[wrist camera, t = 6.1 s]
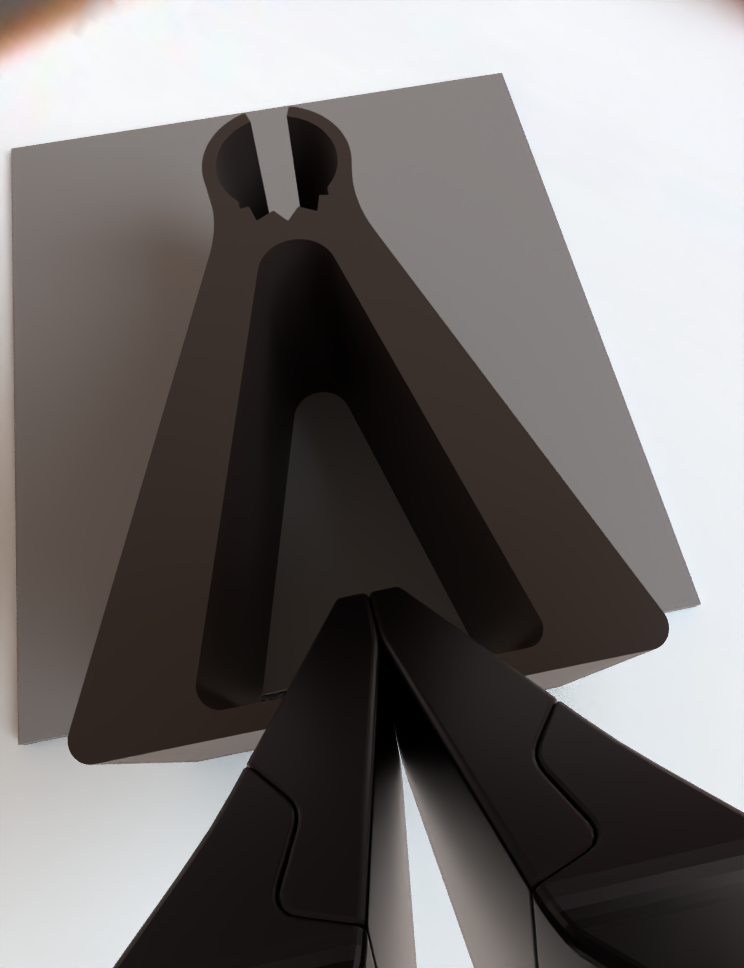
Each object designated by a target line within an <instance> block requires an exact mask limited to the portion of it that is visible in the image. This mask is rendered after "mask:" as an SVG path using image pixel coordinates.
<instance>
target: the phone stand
mask: <svg viewBox="0 0 744 968" xmlns="http://www.w3.org/2000/svg"><path fill="white" fill-rule="evenodd" d="M287 122H288V129H289V136H290V143H291V150H292V156H293V163H294V170H295V177H296V184H297V190H298V197H299V204H300V207H297V209H296V210H295V212H294V213H293V215H292V216H291V217H290V219H289V220H286V219H285V218H283V217H282V216H280V215H279V214H278V213H276V212H275V211H272V212H270V213H269V209H268V204H267V199H266V194H265V190H264V185H263V180H262V175H261V170H260V165H259V160H258V155H257V150H256V146H255V141H254V136H253V131H252V126H251V122H250V120H249V118H248V117H247V115H246V114H245V113H243V114H241V115H239V116H237V117H235V118H233V119H232V120H230V121H229V122H227V123H226V124H225V125H223V126H222V127H221V128H220V129H219V130H218V131H217V132H216V133H215V134H214V136H213V137H212V138H211V140H210V141H209V143H208V145H207V147H206V149H205V152H204V155H203V159H202V175H203V179H204V183H205V186H206V189H207V193H208V196H209V199H210V202H211V206H212V209H213V216H214V233H213V241H212V247H211V251H210V255H209V258H208V262H207V265H206V268H205V272H204V275H203V279H202V282H201V285H200V289H199V292H198V296H197V299H196V302H195V306H194V309H193V313H192V316H191V319H190V323H189V326H188V330H187V333H186V336H185V340H184V343H183V347H182V350H181V353H180V357H179V360H178V363H177V367H176V370H175V374H174V377H173V380H172V384H171V387H170V391H169V394H168V397H167V401H166V404H165V408H164V411H163V414H162V418H161V421H160V425H159V428H158V431H157V435H156V438H155V442H154V445H153V448H152V452H151V455H150V459H149V462H148V465H147V469H146V472H145V476H144V479H143V482H142V486H141V489H140V492H139V496H138V499H137V503H136V506H135V509H134V513H133V516H132V520H131V523H130V526H129V530H128V533H127V537H126V540H125V543H124V547H123V550H122V554H121V557H120V560H119V564H118V567H117V571H116V574H115V577H114V581H113V584H112V588H111V591H110V594H109V598H108V601H107V605H106V608H105V611H104V615H103V618H102V621H101V625H100V628H99V632H98V635H97V638H96V642H95V645H94V649H93V652H92V655H91V659H90V662H89V666H88V669H87V672H86V676H85V679H84V683H83V686H82V689H81V693H80V696H79V700H78V703H77V706H76V710H75V713H74V717H73V720H72V723H71V727H70V730H69V734H68V747H69V750H70V752H71V754H72V756H73V757H74V758H75V759H76V760H77V761H79V762H81V763H83V764H89V765H93V764H132V763H171V762H198V761H203V760H208V759H213V758H218V757H222V756H227V755H232V754H237V753H242V752H247V751H251V750H255V748H256V746H257V744H258V743H259V741H260V739H261V737H262V735H263V733H264V732H265V730H266V728H267V726H268V724H269V722H270V721H271V719H272V717H273V715H274V713H275V711H276V710H277V708H278V706H279V704H280V702H281V700H282V699H283V698H279V699H274V700H269V701H264V702H261V701H262V693H263V684H264V675H265V667H266V658H267V650H268V641H269V632H270V624H271V615H272V606H273V598H274V589H275V580H276V572H277V563H278V555H279V546H280V537H281V529H282V520H283V511H284V503H285V494H286V486H287V477H288V468H289V460H290V451H291V442H292V434H293V425H294V416H295V411H296V409H297V407H298V405H299V404H300V402H301V401H302V400H303V399H305V398H306V397H308V396H309V395H312V394H314V393H319V392H328V393H332V394H335V395H337V396H339V397H340V398H342V399H343V400H344V401H345V402H346V404H347V405H348V407H349V409H350V411H351V413H352V415H353V416H354V418H355V420H356V422H357V424H358V426H359V428H360V430H361V432H362V434H363V435H364V437H365V439H366V441H367V443H368V445H369V447H370V449H371V451H372V452H373V454H374V456H375V458H376V460H377V462H378V464H379V466H380V468H381V470H382V471H383V473H384V475H385V477H386V479H387V481H388V483H389V485H390V487H391V488H392V490H393V492H394V494H395V496H396V498H397V500H398V502H399V504H400V506H401V507H402V509H403V511H404V513H405V515H406V517H407V519H408V521H409V523H410V524H411V526H412V528H413V530H414V532H415V534H416V536H417V538H418V540H419V542H420V543H421V545H422V547H423V549H424V551H425V553H426V555H427V557H428V559H429V560H430V562H431V564H432V566H433V568H434V570H435V572H436V574H437V576H438V578H439V579H440V581H441V583H442V585H443V587H444V589H445V591H446V593H447V595H448V597H449V598H450V600H451V602H452V604H453V606H454V608H455V610H456V612H457V614H458V615H459V617H460V619H461V621H462V623H463V625H464V627H465V629H466V631H467V633H468V634H469V636H470V637H471V638H472V639H473V640H475V641H476V642H478V643H479V644H480V645H482V646H483V647H485V648H486V649H487V650H489V651H490V652H492V653H493V654H495V655H496V656H497V657H499V658H500V659H502V660H503V661H504V662H506V663H507V664H509V665H510V666H511V667H513V668H514V669H516V670H517V671H518V672H520V673H521V674H523V675H524V676H525V677H527V678H528V679H530V680H531V681H532V682H534V683H535V684H537V685H538V686H539V687H541V688H542V689H544V690H546V689H551V688H556V687H560V686H562V685H565V684H567V683H570V682H572V681H575V680H578V679H580V678H583V677H585V676H588V675H590V674H593V673H595V672H598V671H600V670H603V669H605V668H608V667H611V666H613V665H616V664H618V663H621V662H623V661H626V660H628V659H631V658H633V657H636V656H638V655H641V654H644V653H646V652H649V651H651V650H654V649H656V648H658V647H660V646H661V645H662V644H663V643H664V642H665V641H666V639H667V637H668V633H669V624H668V620H667V618H666V616H665V614H664V612H663V611H662V610H661V608H660V607H659V606H658V604H657V603H656V602H655V600H654V599H653V598H652V596H651V595H650V594H649V592H648V591H647V590H646V588H645V587H644V586H643V584H642V583H641V582H640V581H639V579H638V578H637V577H636V575H635V574H634V573H633V571H632V570H631V569H630V567H629V566H628V565H627V563H626V562H625V561H624V559H623V558H622V557H621V555H620V554H619V553H618V551H617V550H616V549H615V547H614V546H613V545H612V543H611V542H610V541H609V539H608V538H607V537H606V535H605V534H604V533H603V532H602V530H601V529H600V528H599V526H598V525H597V524H596V522H595V521H594V520H593V518H592V517H591V516H590V514H589V513H588V512H587V510H586V509H585V508H584V506H583V505H582V504H581V502H580V501H579V500H578V498H577V497H576V496H575V494H574V493H573V492H572V490H571V489H570V488H569V486H568V485H567V484H566V483H565V481H564V480H563V479H562V477H561V476H560V475H559V473H558V472H557V471H556V469H555V468H554V467H553V465H552V464H551V463H550V461H549V460H548V459H547V457H546V456H545V455H544V453H543V452H542V451H541V449H540V448H539V447H538V445H537V444H536V443H535V441H534V440H533V439H532V438H531V436H530V435H529V434H528V432H527V431H526V430H525V428H524V427H523V426H522V424H521V423H520V422H519V420H518V419H517V418H516V416H515V415H514V414H513V412H512V411H511V410H510V408H509V407H508V406H507V404H506V403H505V402H504V400H503V399H502V398H501V396H500V395H499V394H498V392H497V391H496V390H495V389H494V387H493V386H492V385H491V383H490V382H489V381H488V379H487V378H486V377H485V375H484V374H483V373H482V371H481V370H480V369H479V367H478V366H477V365H476V363H475V362H474V361H473V359H472V358H471V357H470V355H469V354H468V353H467V351H466V350H465V349H464V347H463V346H462V345H461V344H460V342H459V341H458V340H457V338H456V337H455V336H454V334H453V333H452V332H451V330H450V329H449V328H448V326H447V325H446V324H445V322H444V321H443V320H442V318H441V317H440V316H439V314H438V313H437V312H436V310H435V309H434V308H433V306H432V305H431V304H430V302H429V301H428V300H427V298H426V297H425V296H424V295H423V293H422V292H421V291H420V289H419V288H418V287H417V285H416V284H415V283H414V281H413V280H412V279H411V277H410V276H409V275H408V273H407V272H406V271H405V269H404V268H403V267H402V265H401V264H400V263H399V261H398V260H397V259H396V257H395V256H394V255H393V253H392V252H391V251H390V250H389V248H388V247H387V246H386V244H385V243H384V242H383V240H382V239H381V238H380V236H379V235H378V234H377V232H376V231H375V230H374V228H373V227H372V225H371V224H370V223H369V221H368V219H367V218H366V216H365V214H364V212H363V211H362V209H361V206H360V204H359V202H358V199H357V196H356V193H355V189H354V185H353V176H352V157H351V151H350V147H349V144H348V142H347V140H346V138H345V136H344V135H343V133H342V132H341V131H340V130H339V128H338V127H337V126H336V125H335V124H333V123H332V122H331V121H330V120H328V119H327V118H325V117H323V116H322V115H320V114H318V113H315V112H313V111H310V110H307V109H303V108H299V107H292V106H289V108H288V112H287Z"/></svg>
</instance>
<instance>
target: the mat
mask: <svg viewBox="0 0 744 968" xmlns="http://www.w3.org/2000/svg"><path fill="white" fill-rule="evenodd" d="M291 106H292V107H299V108H303V109H307V110H310V111H313V112H315V113H318V114H320V115H322V116H323V117H325V118H327V119H328V120H330V121H331V122H332V123H333V124H335V125H336V126H337V127H338V128H339V130H340V131H341V132H342V133H343V135H344V136H345V138H346V140H347V142H348V144H349V147H350V151H351V157H352V176H353V185H354V189H355V193H356V196H357V199H358V202H359V204H360V206H361V209H362V211H363V212H364V214H365V216H366V218H367V219H368V221H369V223H370V224H371V225H372V227H373V228H374V230H375V231H376V232H377V234H378V235H379V236H380V238H381V239H382V240H383V242H384V243H385V244H386V246H387V247H388V248H389V250H390V251H391V252H392V253H393V255H394V256H395V257H396V259H397V260H398V261H399V263H400V264H401V265H402V267H403V268H404V269H405V271H406V272H407V273H408V275H409V276H410V277H411V279H412V280H413V281H414V283H415V284H416V285H417V287H418V288H419V289H420V291H421V292H422V293H423V295H424V296H425V297H426V298H427V300H428V301H429V302H430V304H431V305H432V306H433V308H434V309H435V310H436V312H437V313H438V314H439V316H440V317H441V318H442V320H443V321H444V322H445V324H446V325H447V326H448V328H449V329H450V330H451V332H452V333H453V334H454V336H455V337H456V338H457V340H458V341H459V342H460V344H461V345H462V346H463V347H464V349H465V350H466V351H467V353H468V354H469V355H470V357H471V358H472V359H473V361H474V362H475V363H476V365H477V366H478V367H479V369H480V370H481V371H482V373H483V374H484V375H485V377H486V378H487V379H488V381H489V382H490V383H491V385H492V386H493V387H494V389H495V390H496V391H497V392H498V394H499V395H500V396H501V398H502V399H503V400H504V402H505V403H506V404H507V406H508V407H509V408H510V410H511V411H512V412H513V414H514V415H515V416H516V418H517V419H518V420H519V422H520V423H521V424H522V426H523V427H524V428H525V430H526V431H527V432H528V434H529V435H530V436H531V438H532V439H533V440H534V441H535V443H536V444H537V445H538V447H539V448H540V449H541V451H542V452H543V453H544V455H545V456H546V457H547V459H548V460H549V461H550V463H551V464H552V465H553V467H554V468H555V469H556V471H557V472H558V473H559V475H560V476H561V477H562V479H563V480H564V481H565V483H566V484H567V485H568V486H569V488H570V489H571V490H572V492H573V493H574V494H575V496H576V497H577V498H578V500H579V501H580V502H581V504H582V505H583V506H584V508H585V509H586V510H587V512H588V513H589V514H590V516H591V517H592V518H593V520H594V521H595V522H596V524H597V525H598V526H599V528H600V529H601V530H602V532H603V533H604V534H605V535H606V537H607V538H608V539H609V541H610V542H611V543H612V545H613V546H614V547H615V549H616V550H617V551H618V553H619V554H620V555H621V557H622V558H623V559H624V561H625V562H626V563H627V565H628V566H629V567H630V569H631V570H632V571H633V573H634V574H635V575H636V577H637V578H638V579H639V581H640V582H641V583H642V584H643V586H644V587H645V588H646V590H647V591H648V592H649V594H650V595H651V596H652V598H653V599H654V600H655V602H656V603H657V604H658V606H659V607H660V608H661V610H662V611H663V612H664V613H666V612H671V611H676V610H681V609H686V608H691V607H695V606H698V605H700V604H701V603H700V600H699V598H698V595H697V592H696V590H695V587H694V584H693V582H692V579H691V576H690V574H689V571H688V568H687V566H686V563H685V560H684V558H683V555H682V552H681V550H680V547H679V544H678V542H677V539H676V536H675V533H674V531H673V528H672V525H671V523H670V520H669V517H668V515H667V512H666V509H665V507H664V504H663V501H662V499H661V496H660V493H659V491H658V488H657V485H656V483H655V480H654V477H653V475H652V472H651V469H650V467H649V464H648V461H647V459H646V456H645V453H644V451H643V448H642V445H641V443H640V440H639V437H638V435H637V432H636V429H635V427H634V424H633V421H632V419H631V416H630V413H629V411H628V408H627V405H626V403H625V400H624V397H623V395H622V392H621V389H620V387H619V384H618V381H617V379H616V376H615V373H614V371H613V368H612V365H611V363H610V360H609V357H608V355H607V352H606V349H605V347H604V344H603V341H602V339H601V336H600V333H599V331H598V328H597V325H596V323H595V320H594V317H593V315H592V312H591V309H590V307H589V304H588V301H587V299H586V296H585V293H584V291H583V288H582V285H581V283H580V280H579V277H578V275H577V272H576V269H575V267H574V264H573V261H572V259H571V256H570V253H569V251H568V248H567V245H566V243H565V240H564V237H563V235H562V232H561V229H560V227H559V224H558V221H557V219H556V216H555V213H554V211H553V208H552V205H551V203H550V200H549V197H548V195H547V192H546V189H545V187H544V184H543V181H542V179H541V176H540V173H539V171H538V168H537V165H536V163H535V160H534V157H533V155H532V152H531V149H530V147H529V144H528V141H527V139H526V136H525V133H524V131H523V128H522V125H521V123H520V120H519V117H518V115H517V112H516V109H515V107H514V104H513V101H512V99H511V96H510V93H509V91H508V88H507V85H506V83H505V80H504V77H503V75H502V73H498V74H492V75H485V76H479V77H472V78H466V79H459V80H453V81H446V82H440V83H434V84H427V85H421V86H414V87H408V88H401V89H395V90H388V91H382V92H375V93H369V94H362V95H356V96H349V97H343V98H336V99H330V100H324V101H317V102H311V103H304V104H298V105H291ZM288 108H289V106H285V107H278V108H272V109H265V110H259V111H252V112H246V113H245V114H246V115H247V117H248V118H249V120H250V122H251V126H252V131H253V136H254V141H255V146H256V150H257V155H258V160H259V165H260V170H261V175H262V180H263V185H264V190H265V194H266V199H267V204H268V209H269V213H270V212H272V211H275V212H276V213H278V214H279V215H280V216H282V217H283V218H285V219H286V220H289V219H290V217H291V216H292V215H293V213H294V212H295V210H296V209H297V207H300V204H299V197H298V190H297V184H296V177H295V170H294V163H293V156H292V150H291V143H290V136H289V129H288V122H287V112H288ZM241 114H243V113H239V114H233V115H227V116H220V117H214V118H207V119H201V120H194V121H188V122H181V123H175V124H168V125H162V126H155V127H149V128H142V129H136V130H130V131H123V132H117V133H110V134H104V135H97V136H91V137H84V138H78V139H71V140H65V141H58V142H52V143H45V144H39V145H32V146H26V147H20V148H13V149H11V150H12V237H13V324H14V411H15V498H16V585H17V672H18V745H26V744H31V743H36V742H41V741H45V740H50V739H55V738H60V737H65V736H68V734H69V730H70V727H71V723H72V720H73V717H74V713H75V710H76V706H77V703H78V700H79V696H80V693H81V689H82V686H83V683H84V679H85V676H86V672H87V669H88V666H89V662H90V659H91V655H92V652H93V649H94V645H95V642H96V638H97V635H98V632H99V628H100V625H101V621H102V618H103V615H104V611H105V608H106V605H107V601H108V598H109V594H110V591H111V588H112V584H113V581H114V577H115V574H116V571H117V567H118V564H119V560H120V557H121V554H122V550H123V547H124V543H125V540H126V537H127V533H128V530H129V526H130V523H131V520H132V516H133V513H134V509H135V506H136V503H137V499H138V496H139V492H140V489H141V486H142V482H143V479H144V476H145V472H146V469H147V465H148V462H149V459H150V455H151V452H152V448H153V445H154V442H155V438H156V435H157V431H158V428H159V425H160V421H161V418H162V414H163V411H164V408H165V404H166V401H167V397H168V394H169V391H170V387H171V384H172V380H173V377H174V374H175V370H176V367H177V363H178V360H179V357H180V353H181V350H182V347H183V343H184V340H185V336H186V333H187V330H188V326H189V323H190V319H191V316H192V313H193V309H194V306H195V302H196V299H197V296H198V292H199V289H200V285H201V282H202V279H203V275H204V272H205V268H206V265H207V262H208V258H209V255H210V251H211V247H212V241H213V233H214V216H213V209H212V206H211V202H210V199H209V196H208V193H207V189H206V186H205V183H204V179H203V175H202V159H203V155H204V152H205V149H206V147H207V145H208V143H209V141H210V140H211V138H212V137H213V136H214V134H215V133H216V132H217V131H218V130H219V129H220V128H221V127H222V126H223V125H225V124H226V123H227V122H229V121H230V120H232V119H233V118H235V117H237V116H239V115H241ZM392 587H400V588H402V589H403V590H405V591H406V592H408V593H409V594H410V595H412V596H413V597H415V598H416V599H417V600H419V601H420V602H422V603H423V604H424V605H426V606H427V607H429V608H430V609H431V610H433V611H434V612H436V613H437V614H438V615H440V616H441V617H443V618H444V619H445V620H447V621H448V622H450V623H451V624H452V625H454V626H455V627H457V628H458V629H459V630H461V631H462V632H464V633H465V634H466V635H468V636H469V634H468V633H467V631H466V629H465V627H464V625H463V623H462V621H461V619H460V617H459V615H458V614H457V612H456V610H455V608H454V606H453V604H452V602H451V600H450V598H449V597H448V595H447V593H446V591H445V589H444V587H443V585H442V583H441V581H440V579H439V578H438V576H437V574H436V572H435V570H434V568H433V566H432V564H431V562H430V560H429V559H428V557H427V555H426V553H425V551H424V549H423V547H422V545H421V543H420V542H419V540H418V538H417V536H416V534H415V532H414V530H413V528H412V526H411V524H410V523H409V521H408V519H407V517H406V515H405V513H404V511H403V509H402V507H401V506H400V504H399V502H398V500H397V498H396V496H395V494H394V492H393V490H392V488H391V487H390V485H389V483H388V481H387V479H386V477H385V475H384V473H383V471H382V470H381V468H380V466H379V464H378V462H377V460H376V458H375V456H374V454H373V452H372V451H371V449H370V447H369V445H368V443H367V441H366V439H365V437H364V435H363V434H362V432H361V430H360V428H359V426H358V424H357V422H356V420H355V418H354V416H353V415H352V413H351V411H350V409H349V407H348V405H347V404H346V402H345V401H344V400H343V399H342V398H340V397H339V396H337V395H335V394H332V393H328V392H319V393H314V394H312V395H309V396H308V397H306V398H305V399H303V400H302V401H301V402H300V404H299V405H298V407H297V409H296V411H295V416H294V425H293V434H292V442H291V451H290V460H289V468H288V477H287V486H286V494H285V503H284V511H283V520H282V529H281V537H280V546H279V555H278V563H277V572H276V580H275V589H274V598H273V606H272V615H271V624H270V632H269V641H268V650H267V658H266V667H265V675H264V684H263V693H262V696H264V695H269V694H273V693H278V692H283V691H287V689H288V688H289V686H290V684H291V682H292V680H293V678H294V677H295V675H296V673H297V671H298V669H299V667H300V666H301V664H302V662H303V660H304V658H305V656H306V655H307V653H308V651H309V649H310V647H311V645H312V644H313V642H314V640H315V638H316V636H317V634H318V633H319V631H320V629H321V627H322V625H323V623H324V622H325V620H326V618H327V616H328V614H329V612H330V611H331V609H332V607H333V605H334V603H335V601H336V600H337V599H338V598H341V597H346V596H351V595H356V594H362V593H364V594H367V596H368V597H369V595H370V593H371V592H373V591H377V590H382V589H387V588H392ZM469 637H470V636H469Z"/></svg>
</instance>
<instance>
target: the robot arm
mask: <svg viewBox="0 0 744 968" xmlns="http://www.w3.org/2000/svg"><path fill="white" fill-rule="evenodd" d="M396 738H397V739H396ZM397 742H398V745H397ZM398 747H399V750H398ZM399 751H400V755H401V759H402V762H403V766H404V769H405V772H406V775H407V778H408V781H409V784H410V787H411V790H412V792H413V795H414V798H415V801H416V804H417V807H418V809H419V812H420V815H421V818H422V821H423V824H424V827H425V829H426V832H427V835H428V838H429V841H430V844H431V846H432V849H433V852H434V855H435V858H436V861H437V864H438V866H439V869H440V872H441V875H442V878H443V881H444V883H445V886H446V889H447V892H448V895H449V898H450V901H451V903H452V906H453V909H454V912H455V915H456V918H457V920H458V923H459V926H460V929H461V932H462V935H463V938H464V940H465V943H466V946H467V949H468V952H469V955H470V958H471V960H472V963H473V966H474V968H744V812H742V811H740V810H738V809H736V808H735V807H733V806H731V805H729V804H728V803H726V802H724V801H722V800H720V799H719V798H717V797H715V796H713V795H711V794H710V793H708V792H706V791H704V790H703V789H701V788H699V787H697V786H695V785H694V784H692V783H690V782H688V781H687V780H685V779H683V778H681V777H679V776H678V775H676V774H674V773H672V772H670V771H669V770H667V769H665V768H663V767H662V766H660V765H658V764H657V763H655V762H653V761H651V760H650V759H648V758H646V757H645V756H643V755H641V754H640V753H638V752H636V751H635V750H633V749H631V748H630V747H628V746H626V745H625V744H623V743H621V742H619V741H618V740H616V739H615V738H613V737H612V736H610V735H609V734H607V733H606V732H604V731H603V730H601V729H600V728H598V727H597V726H595V725H594V724H592V723H591V722H589V721H588V720H586V719H585V718H583V717H582V716H581V715H579V714H578V713H576V712H575V711H574V710H572V709H571V708H569V707H568V706H567V705H565V704H564V703H562V702H557V699H556V698H555V697H553V696H552V695H551V694H549V693H548V692H546V691H545V690H544V689H542V688H541V687H539V686H538V685H537V684H535V683H534V682H532V681H531V680H530V679H528V678H527V677H525V676H524V675H523V674H521V673H520V672H518V671H517V670H516V669H514V668H513V667H511V666H510V665H509V664H507V663H506V662H504V661H503V660H502V659H500V658H499V657H497V656H496V655H495V654H493V653H492V652H490V651H489V650H487V649H486V648H485V647H483V646H482V645H480V644H479V643H478V642H476V641H475V640H473V639H472V638H471V637H469V636H468V635H466V634H465V633H464V632H462V631H461V630H459V629H458V628H457V627H455V626H454V625H452V624H451V623H450V622H448V621H447V620H445V619H444V618H443V617H441V616H440V615H438V614H437V613H436V612H434V611H433V610H431V609H430V608H429V607H427V606H426V605H424V604H423V603H422V602H420V601H419V600H417V599H416V598H415V597H413V596H412V595H410V594H409V593H408V592H406V591H405V590H403V589H402V588H400V587H392V588H387V589H382V590H377V591H373V592H371V593H370V595H369V597H368V596H367V594H364V593H362V594H356V595H351V596H346V597H341V598H338V599H337V600H336V601H335V603H334V605H333V607H332V609H331V611H330V612H329V614H328V616H327V618H326V620H325V622H324V623H323V625H322V627H321V629H320V631H319V633H318V634H317V636H316V638H315V640H314V642H313V644H312V645H311V647H310V649H309V651H308V653H307V655H306V656H305V658H304V660H303V662H302V664H301V666H300V667H299V669H298V671H297V673H296V675H295V677H294V678H293V680H292V682H291V684H290V686H289V688H288V689H287V691H286V693H285V695H284V697H283V699H282V700H281V702H280V704H279V706H278V708H277V710H276V711H275V713H274V715H273V717H272V719H271V721H270V722H269V724H268V726H267V728H266V730H265V732H264V733H263V735H262V737H261V739H260V741H259V743H258V744H257V746H256V748H255V750H254V752H253V754H252V755H251V757H250V759H249V761H248V763H247V767H246V768H244V769H243V771H242V773H241V775H240V777H239V779H238V781H237V782H236V784H235V786H234V788H233V790H232V792H231V793H230V795H229V797H228V798H227V800H226V802H225V803H224V805H223V807H222V809H221V810H220V812H219V814H218V815H217V817H216V819H215V820H214V822H213V824H212V826H211V827H210V829H209V830H208V832H207V833H206V835H205V836H204V838H203V839H202V841H201V842H200V844H199V845H198V847H197V848H196V850H195V851H194V853H193V854H192V856H191V857H190V859H189V860H188V862H187V863H186V865H185V866H184V868H183V869H182V871H181V872H180V874H179V875H178V876H177V878H176V879H175V881H174V882H173V884H172V885H171V886H170V888H169V889H168V891H167V892H166V893H165V895H164V896H163V898H162V899H161V900H160V902H159V903H158V905H157V906H156V908H155V909H154V910H153V912H152V913H151V915H150V916H149V917H148V919H147V920H146V922H145V923H144V924H143V926H142V927H141V929H140V930H139V932H138V933H137V934H136V936H135V937H134V939H133V940H132V941H131V943H130V944H129V946H128V947H127V948H126V950H125V951H124V953H123V954H122V955H121V957H120V958H119V960H118V961H117V963H116V964H115V965H114V967H113V968H417V967H416V954H415V940H414V927H413V914H412V901H411V888H410V874H409V861H408V848H407V835H406V822H405V808H404V795H403V782H402V772H401V763H400V756H399Z"/></svg>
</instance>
